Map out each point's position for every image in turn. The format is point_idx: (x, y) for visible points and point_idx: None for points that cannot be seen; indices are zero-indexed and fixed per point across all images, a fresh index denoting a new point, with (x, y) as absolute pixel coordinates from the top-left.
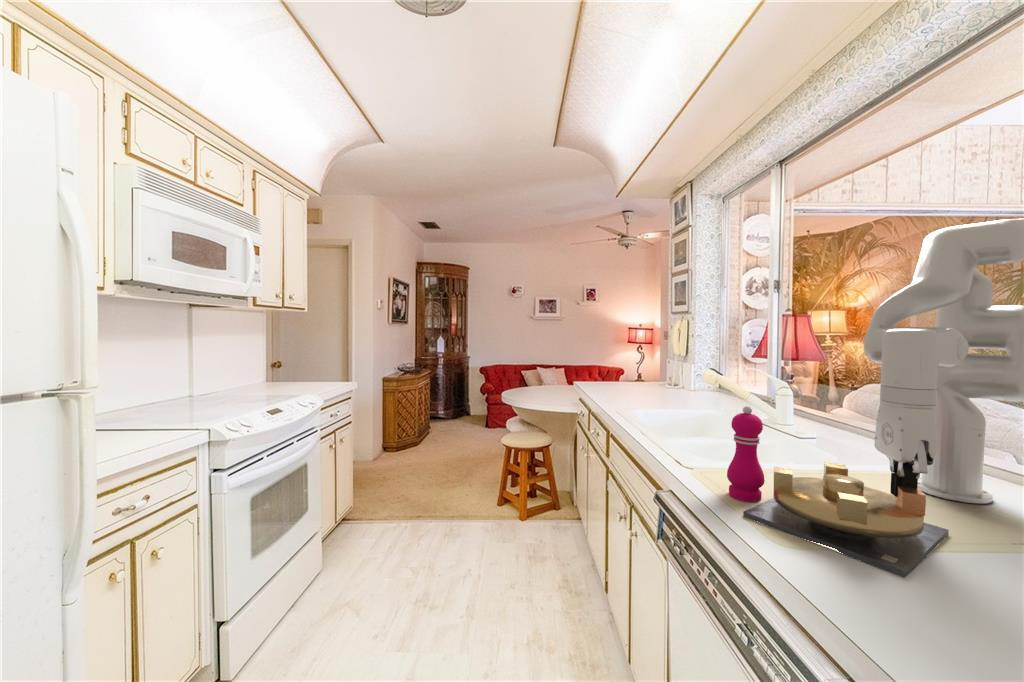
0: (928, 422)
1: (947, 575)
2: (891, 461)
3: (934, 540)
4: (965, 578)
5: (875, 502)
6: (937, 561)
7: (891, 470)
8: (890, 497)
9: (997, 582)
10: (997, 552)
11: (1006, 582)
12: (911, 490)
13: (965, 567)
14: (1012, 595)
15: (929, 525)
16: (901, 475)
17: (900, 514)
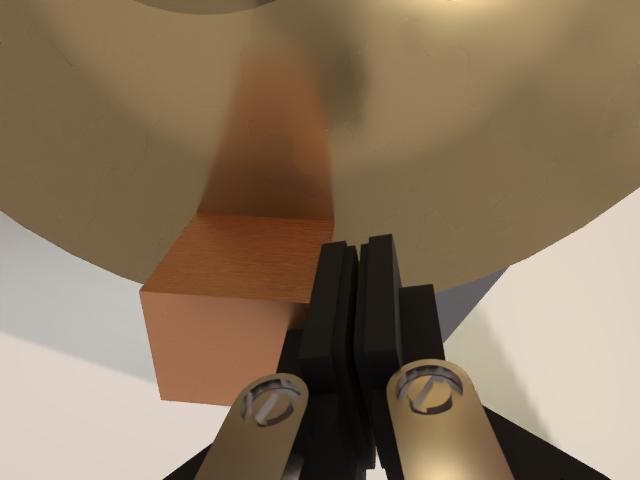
0: None
1: (6, 216)
2: (452, 474)
3: None
4: (29, 260)
5: (293, 95)
6: None
7: (450, 373)
8: (479, 225)
9: (74, 330)
10: None
11: (95, 350)
12: (233, 357)
13: (128, 290)
14: (9, 331)
15: (447, 309)
16: (239, 399)
17: (133, 192)
